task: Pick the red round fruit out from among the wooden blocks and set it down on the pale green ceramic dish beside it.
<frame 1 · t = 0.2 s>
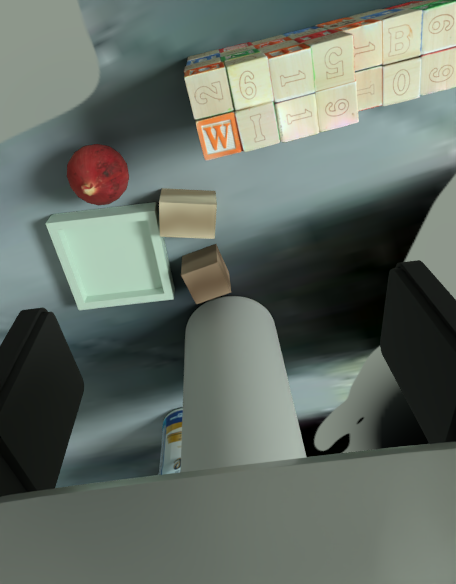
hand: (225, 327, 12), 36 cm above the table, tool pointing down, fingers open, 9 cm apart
stack of blocks: (300, 65, 41), on the table
beverage bottle: (187, 420, 70), on the table
dish: (117, 253, 51), on the table
walnut block: (205, 264, 53), on the table
cylinder vase: (230, 328, 59), on the table
beech block: (188, 205, 48), on the table
red round fruit: (105, 162, 45), on the table
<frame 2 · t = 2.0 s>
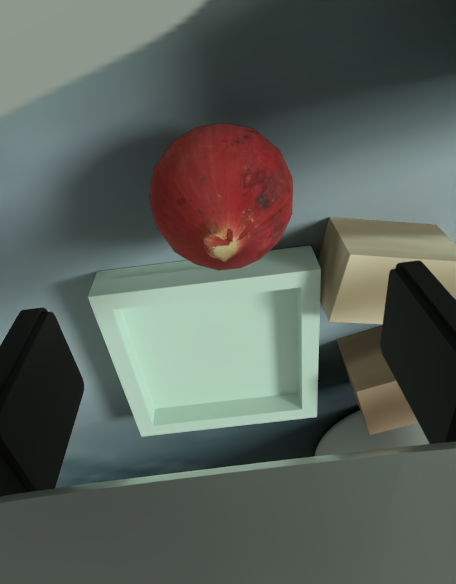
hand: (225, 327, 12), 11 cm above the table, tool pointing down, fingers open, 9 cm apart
dish: (216, 337, 27), on the table
walnut block: (375, 351, 28), on the table
cylinder vase: (385, 442, 35), on the table
beech block: (371, 251, 24), on the table
red round fruit: (219, 165, 20), on the table
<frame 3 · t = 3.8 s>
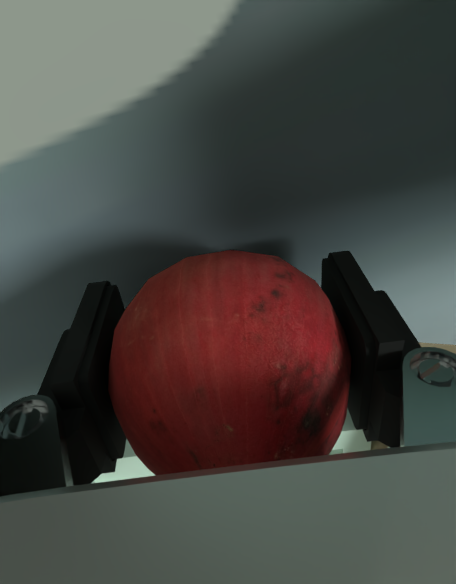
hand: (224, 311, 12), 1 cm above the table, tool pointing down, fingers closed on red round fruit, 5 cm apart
dish: (218, 480, 20), on the table
red round fruit: (222, 281, 14), on the table, touching gripper
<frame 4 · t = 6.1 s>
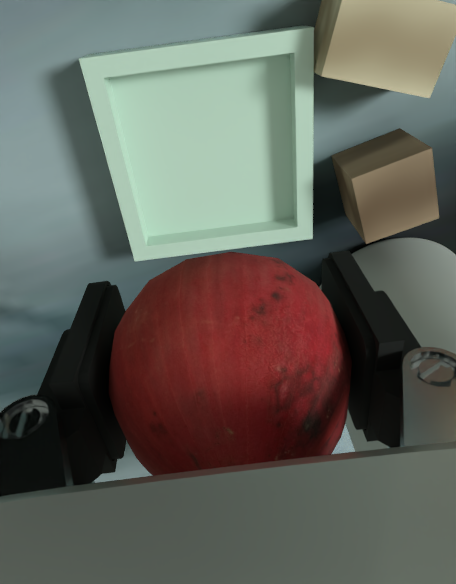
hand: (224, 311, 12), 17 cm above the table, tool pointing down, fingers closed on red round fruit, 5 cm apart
dish: (210, 149, 27), on the table
walnut block: (370, 173, 28), on the table
cylinder vase: (383, 300, 34), on the table
beech block: (364, 37, 24), on the table
red round fruit: (222, 283, 14), point 16 cm above the table, touching gripper
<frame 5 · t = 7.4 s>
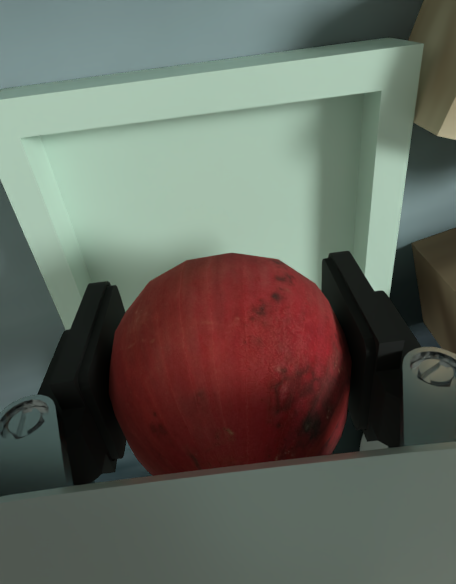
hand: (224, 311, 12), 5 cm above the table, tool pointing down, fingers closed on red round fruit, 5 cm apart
dish: (218, 236, 16), on the table
red round fruit: (222, 283, 14), point 3 cm above the table, touching gripper
when the fingers open (4 cm above the table, at t = 8.3 s): red round fruit drops 1 cm, resting on dish.
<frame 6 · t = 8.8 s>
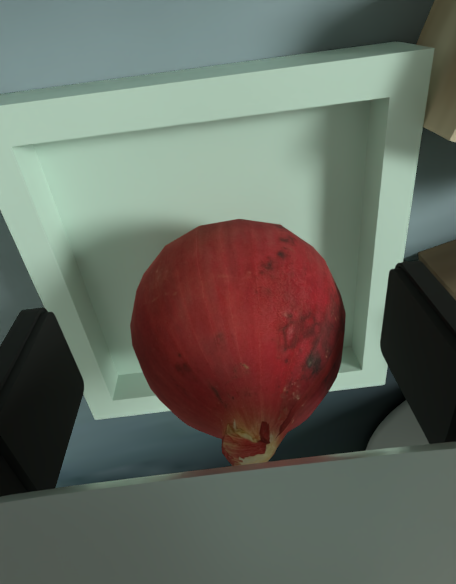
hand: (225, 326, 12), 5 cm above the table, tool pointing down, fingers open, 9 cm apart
dish: (218, 246, 16), on the table
red round fruit: (225, 252, 15), point 1 cm above the table, touching dish
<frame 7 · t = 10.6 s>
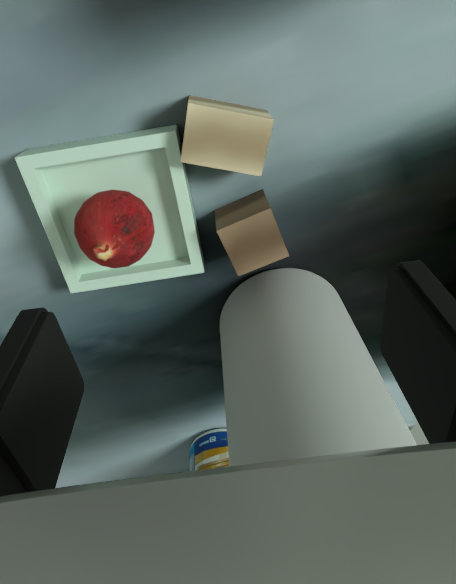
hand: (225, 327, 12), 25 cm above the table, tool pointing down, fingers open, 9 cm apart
beverage bottle: (221, 446, 53), on the table
dish: (122, 209, 36), on the table
walnut block: (248, 221, 37), on the table
cylinder vase: (279, 316, 43), on the table
beech block: (223, 129, 33), on the table
red round fruit: (123, 210, 35), point 1 cm above the table, touching dish
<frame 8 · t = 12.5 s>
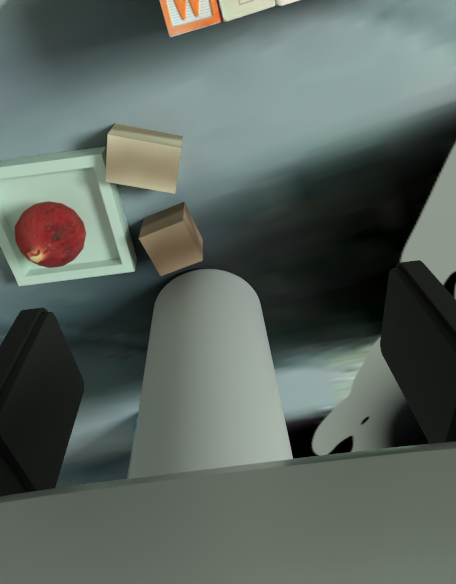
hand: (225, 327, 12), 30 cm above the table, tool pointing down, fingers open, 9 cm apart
dish: (63, 215, 42), on the table
walnut block: (173, 228, 43), on the table
cylinder vase: (207, 310, 49), on the table
beech block: (147, 151, 39), on the table
red round fruit: (63, 216, 41), point 1 cm above the table, touching dish
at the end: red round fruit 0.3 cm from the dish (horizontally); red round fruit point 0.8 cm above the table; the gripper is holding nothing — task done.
